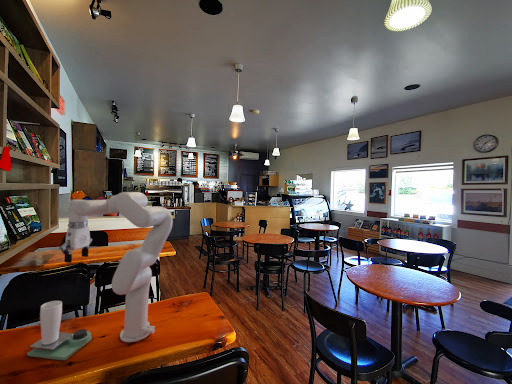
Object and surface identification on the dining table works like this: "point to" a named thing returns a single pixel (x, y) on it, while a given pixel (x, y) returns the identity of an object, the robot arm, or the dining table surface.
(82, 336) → the tare button
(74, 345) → the scale
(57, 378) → the dining table surface
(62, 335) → the scale plate
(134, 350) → the dining table surface
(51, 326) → the drinking glass
